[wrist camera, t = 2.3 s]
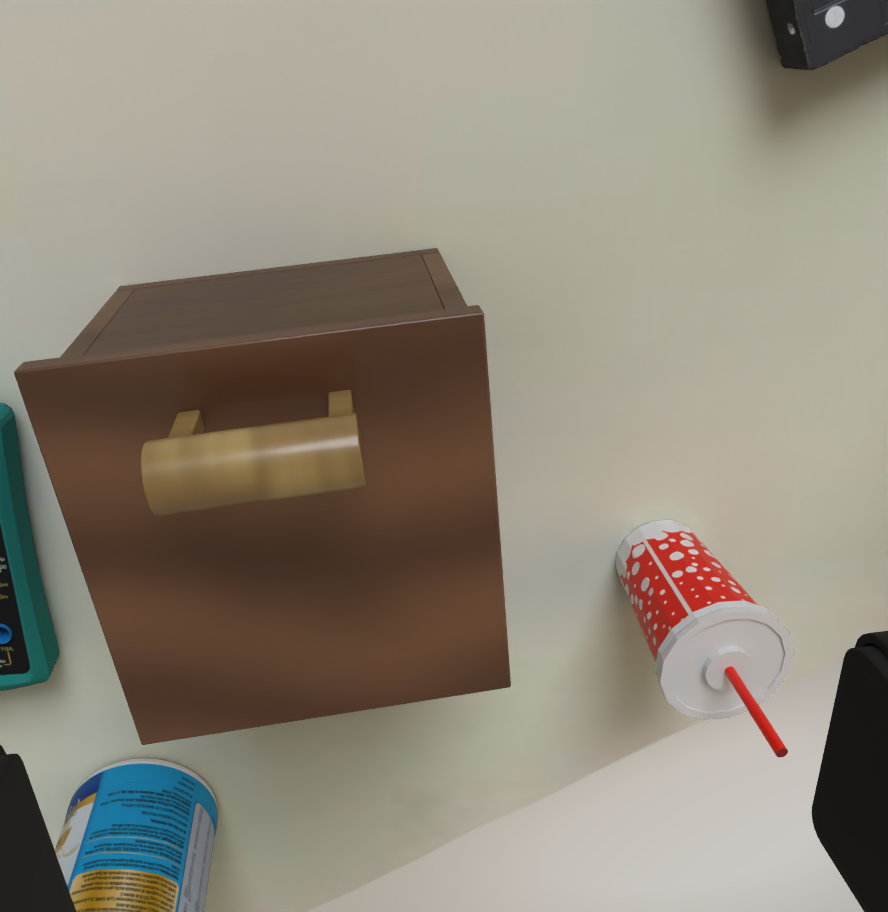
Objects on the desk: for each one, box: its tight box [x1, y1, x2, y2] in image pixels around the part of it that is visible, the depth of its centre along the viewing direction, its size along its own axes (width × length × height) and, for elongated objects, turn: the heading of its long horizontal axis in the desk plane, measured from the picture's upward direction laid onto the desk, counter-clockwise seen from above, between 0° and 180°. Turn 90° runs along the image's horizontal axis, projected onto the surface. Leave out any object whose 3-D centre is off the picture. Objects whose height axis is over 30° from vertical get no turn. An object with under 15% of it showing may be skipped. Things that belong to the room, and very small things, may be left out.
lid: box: [14, 305, 511, 745], centre depth 26 cm, size 14×14×6 cm
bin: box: [60, 248, 467, 358], centre depth 34 cm, size 14×14×12 cm
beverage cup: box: [616, 520, 794, 757], centre depth 39 cm, size 6×6×14 cm
